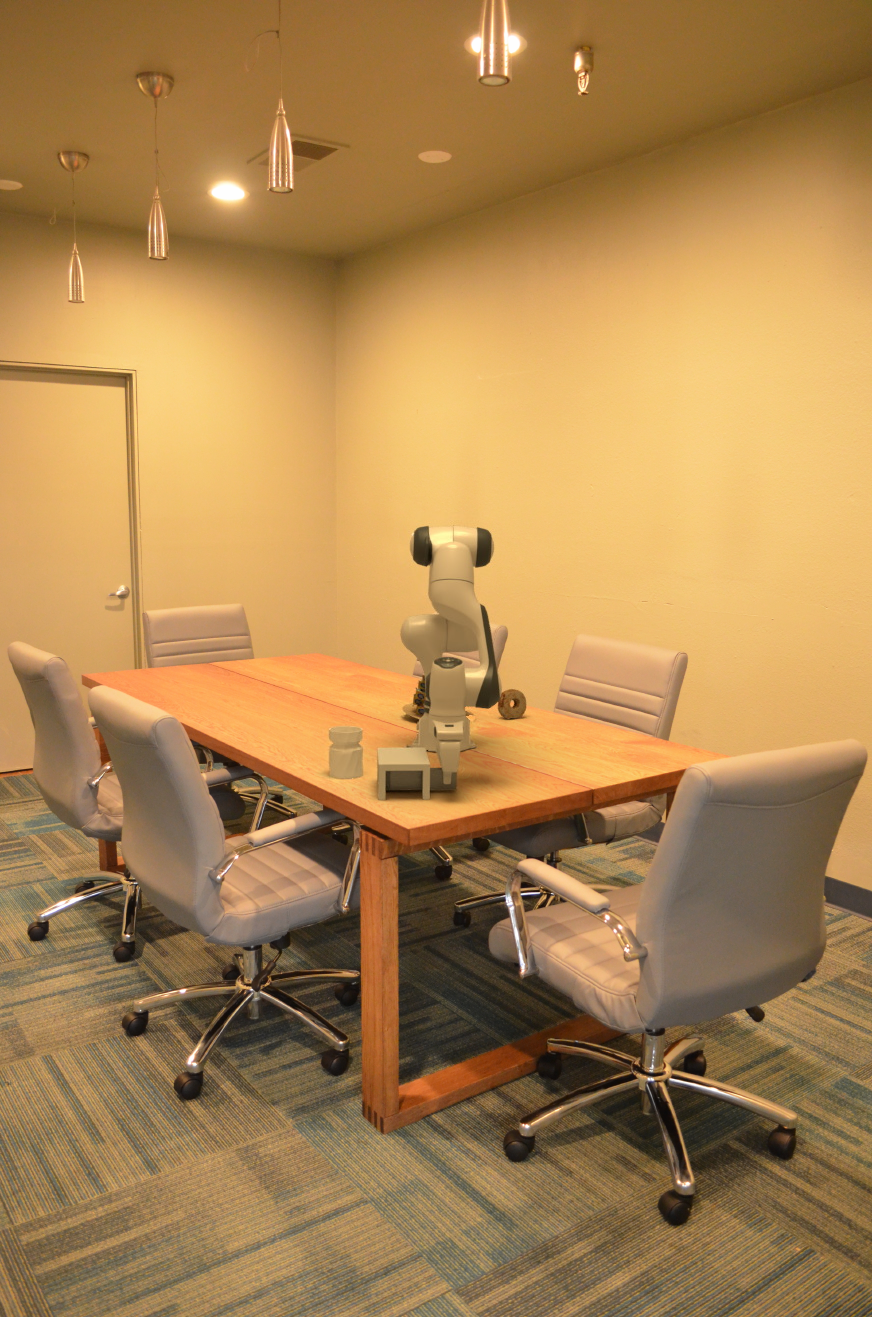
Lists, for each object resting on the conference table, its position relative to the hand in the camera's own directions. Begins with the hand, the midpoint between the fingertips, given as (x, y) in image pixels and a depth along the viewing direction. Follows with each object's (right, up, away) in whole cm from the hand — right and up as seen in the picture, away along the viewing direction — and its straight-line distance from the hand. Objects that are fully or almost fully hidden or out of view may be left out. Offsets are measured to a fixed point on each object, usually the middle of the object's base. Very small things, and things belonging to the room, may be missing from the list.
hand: (446, 781), depth 239 cm
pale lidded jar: (-26, 0, +15) cm, 30 cm away
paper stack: (-1, +9, +94) cm, 95 cm away
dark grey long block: (-7, -1, +2) cm, 7 cm away
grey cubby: (-11, -2, +1) cm, 11 cm away
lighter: (-12, -1, +14) cm, 19 cm away
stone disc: (+23, +9, +96) cm, 99 cm away
